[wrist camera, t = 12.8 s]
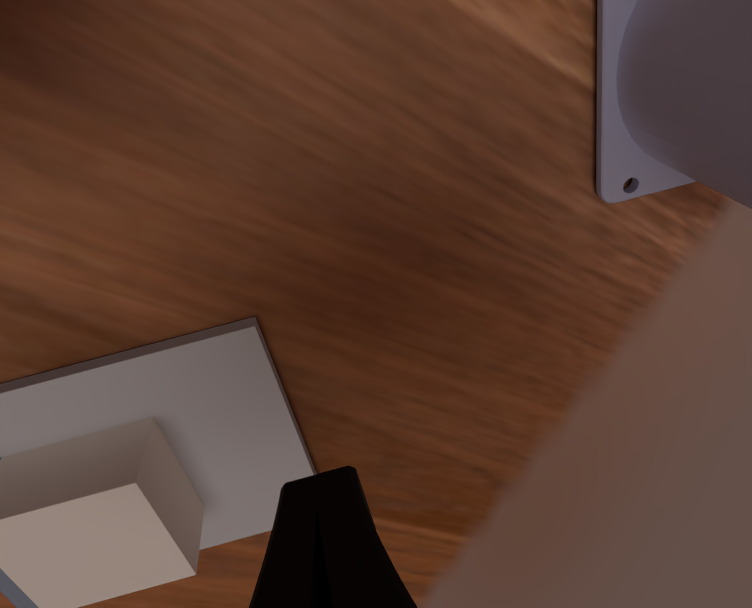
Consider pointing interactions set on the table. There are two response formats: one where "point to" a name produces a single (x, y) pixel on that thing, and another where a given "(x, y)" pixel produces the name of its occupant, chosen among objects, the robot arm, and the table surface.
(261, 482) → the mat
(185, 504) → the beige rectangular block
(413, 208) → the table surface
